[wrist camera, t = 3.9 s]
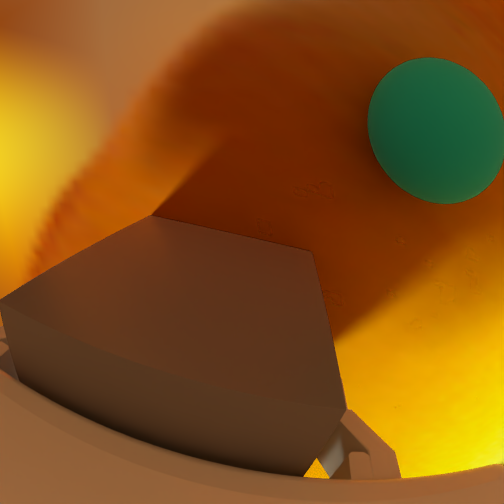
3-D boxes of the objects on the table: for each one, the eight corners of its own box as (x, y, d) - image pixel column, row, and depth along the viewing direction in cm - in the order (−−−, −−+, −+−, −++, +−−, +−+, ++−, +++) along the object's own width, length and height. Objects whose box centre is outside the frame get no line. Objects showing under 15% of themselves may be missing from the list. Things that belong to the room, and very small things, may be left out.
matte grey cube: (312, 251, 13) (347, 409, 4) (272, 379, 15) (256, 534, 7) (150, 215, 13) (-2, 301, 5) (141, 345, 15) (58, 469, 7)
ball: (469, 180, 11) (543, 198, 6) (371, 205, 12) (421, 238, 7) (440, 69, 10) (506, 40, 5) (336, 86, 10) (368, 45, 6)
